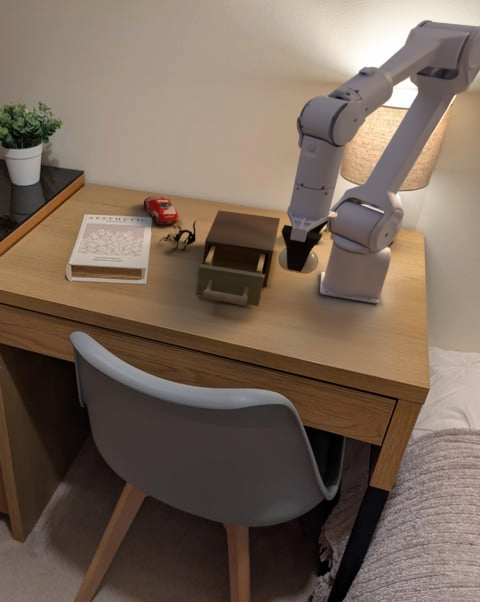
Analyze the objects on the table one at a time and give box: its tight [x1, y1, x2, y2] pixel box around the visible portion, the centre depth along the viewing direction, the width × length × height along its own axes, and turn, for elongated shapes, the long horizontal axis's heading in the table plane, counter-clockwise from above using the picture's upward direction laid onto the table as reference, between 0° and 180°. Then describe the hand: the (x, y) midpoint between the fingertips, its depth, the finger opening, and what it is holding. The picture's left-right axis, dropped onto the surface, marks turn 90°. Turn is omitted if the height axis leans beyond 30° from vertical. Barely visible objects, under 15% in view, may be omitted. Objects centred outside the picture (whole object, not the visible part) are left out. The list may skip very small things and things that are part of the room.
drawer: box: [195, 245, 266, 307], centre depth 99 cm, size 18×11×6 cm, turn 159°
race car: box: [143, 195, 179, 226], centre depth 129 cm, size 13×5×4 cm, turn 9°
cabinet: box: [202, 209, 281, 287], centre depth 108 cm, size 14×12×7 cm
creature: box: [158, 220, 197, 254], centre depth 115 cm, size 8×5×8 cm
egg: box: [278, 247, 319, 275], centre depth 90 cm, size 6×4×4 cm, turn 65°
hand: (297, 263), depth 90 cm, fingers closed on egg, 4 cm apart
